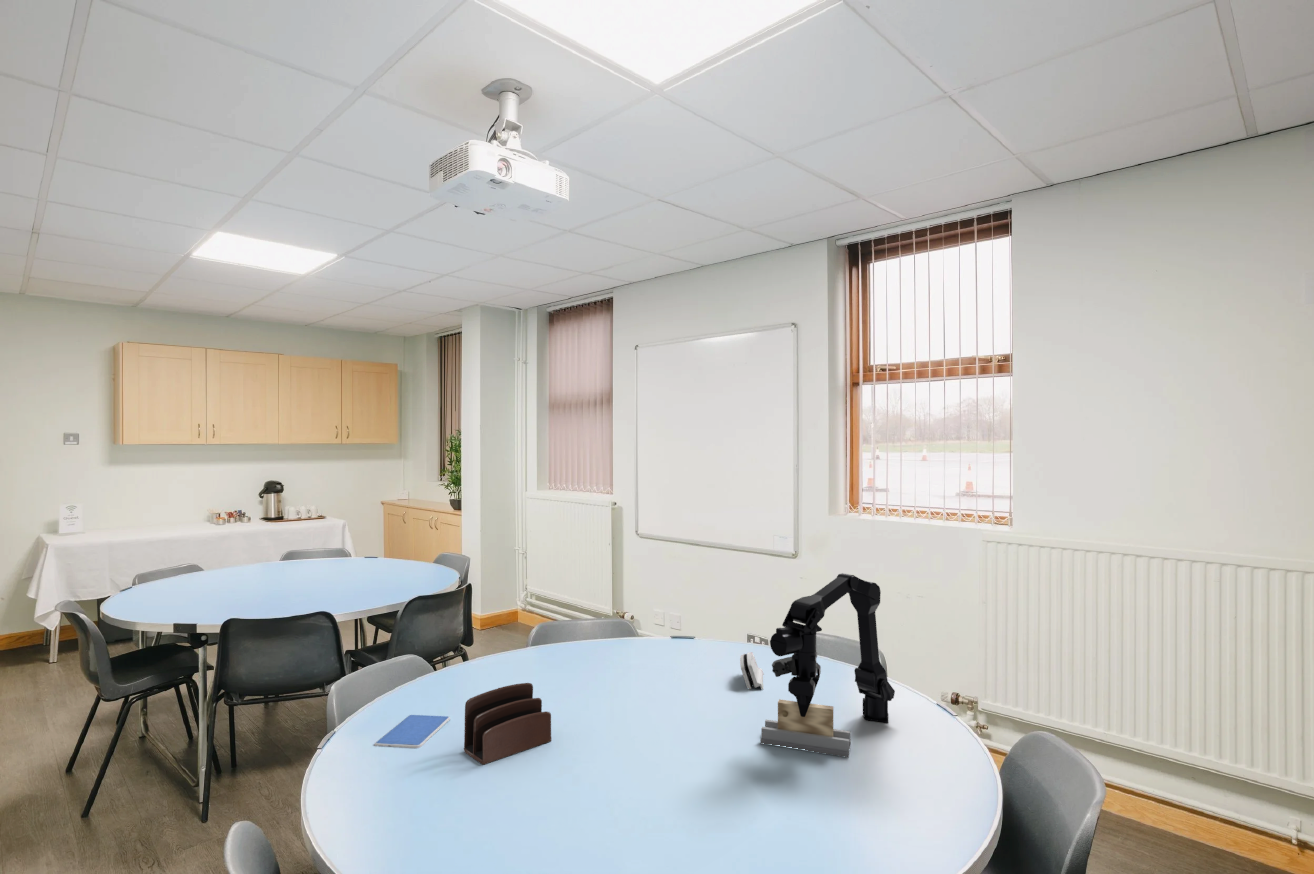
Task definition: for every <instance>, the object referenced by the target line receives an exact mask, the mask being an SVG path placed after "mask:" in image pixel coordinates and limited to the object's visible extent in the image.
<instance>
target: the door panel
mask: <svg viewBox="0 0 1314 874" xmlns="http://www.w3.org/2000/svg"><path fill="white" fill-rule="evenodd" d="M777 721H778V729H782V730H789V731H796V732H803V733H809V734H816V735H823V736H830V737H833V729H834V706H832V705H826V704H818V703H810V706H809V708H808V711H807V713H806V716H805V717H801V715H800V711H799V707H798V703H797V700H796V701H793V700H787V699H780V698H779V699H778V701H777Z"/></svg>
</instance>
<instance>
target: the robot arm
mask: <svg viewBox="0 0 1314 874" xmlns="http://www.w3.org/2000/svg"><path fill="white" fill-rule="evenodd" d="M881 592H882V591H881V587H880V586H879V585H878V584H877V583H876V582H874V581H873V582H872V581H867V580H864V579H861V578H860V577H857V576H856V575H854V574H849V573H843V572H842V573H839V574H837V576H836V577H835V578H834V579H833V580H832V581H830V582H829V583H827V584H826V585H825V586H823V587H822V588H821V589H819V590H817V591H816V592H815V593H813V594H811V595H808V596H802V597H800V598H797V599H795V600H794V601H793V602H792V603H791V604H790V608H789V609H788V611H787V614H786V616H785V618H784V620H783V622H782V624H781V625H782V627H777V628H775V633H773V634H772V635H771V638H770V640H769V644H770V650H771V651H772V653H774V655H775V656H778V657H784V656H788V655H791V656H788V657H784V658H779V659H776V660H774V661H773V662H772V664H771V667H772V671H771V672H772V673H774V675H775V677H776V678H779V677H781V676H784V675H787V674H791V676H793V677H791V679H790V680H789V682H788V684H787V685H788V690H787V691H788V692H789V693H790V694H791V695H793V696H794V697H795V699H796V702H797V703H798V707H799V711H800V715H801V717H805V716H806V713H807V711H808V708H809V706H810V703H811V702H812V700H813V697H814V695H815V693H816V687H817V685H818V682H819V680H820V677H821V672H822V669H821V668H822V667H821V665H820V664H819V663H818V662H817V659H818V652H817V632H818V633H819V632H822V630H823V628H822V627H820V625H819V622H820V621H821V620H822V619H824V617H825V613H826V610H828V608H830V607H831V606H833V605H834V604H835V603H836V602H838V600H840V599H842V598H843V597H844V596H845V595H847V594H849V595H848V596H849V601H850V603H851V605H852V606H853V608H854V610H855V611H856V613H857V628H858V638H859V652H860V663H859V664H858V665H857V667H854V675H855V676H854V677H855V679H854V682H855V683H856V685H857V689H858V693H859V694H863V695H864V697H863V698H862V715H863V716H864V717H863V719H864V720H866V721H872V722H881V723H889V702H891V701H892V699H894V697H895V692H896V690H895V689H894V687H893V686H892V685H891V684H890V682H889V680H888V675H887V672H886V669H885V668H884V666H883V665H882V662H881V661H880V656H879V642H878V631H877V630H878V628H877V618H876V617H877V616H876V611H877V610H878V607H879V606H880V604H881ZM811 704H812V703H811Z"/></svg>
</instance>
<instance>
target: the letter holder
mask: <svg viewBox="0 0 1314 874" xmlns="http://www.w3.org/2000/svg"><path fill="white" fill-rule="evenodd" d="M533 695H534V685H533V683H531V682H523V683H516V684H510V685H505V686H501V687H498V688H495V689H492V690H488V691H485V692H483V693H480V694H477V695H475V696H472V697H470V698H469V699H467V701H466V702H465V704H464V705H465V706H464V730H463V731H464V734H463V735H464V736H463V737H464V742H463V752H464V753H465V754H466V755H468V756H470V757H471V758H472V759H474V760H475V761H476V762H477V763H479V764H481V765H483V766H484V765H487V764H489V763H493V762H496V761H498V760H501V759H504V758H507V757H510V756H514V755H517V754H519V753H521V752H525V751H527V750H530V749H533V748H535V747H539V746H542V745H545V744H547V743H550V742H552V714H551V712H550V711H542V707H543V705H542V704H543V702H542V701H543V700H542V699H541V698H540V697H533Z"/></svg>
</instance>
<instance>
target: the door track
mask: <svg viewBox="0 0 1314 874" xmlns="http://www.w3.org/2000/svg"><path fill="white" fill-rule="evenodd" d="M760 736H761V738H760V744H761V743H764V744H772V745H780V746H786V747H792V748H798V749H805V750H808V751H807V752H809V751H814V752H813V753H816V752H819V753H818V754H822V753H826V754H825V755H829V754H833V755H832V756H835V755H839V756H838V757H842V756H845V757H844V758H849V755H850V750H849V749H851V741H852V740H851V731H850V730H842V729H838V728H837V729H836V728H833V737H830V736H823V735H816V734H809V733H803V732H796V731H789V730H782V729H778V720H773V719H765V721H764V726H761V735H760ZM764 744H763V745H764Z"/></svg>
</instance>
